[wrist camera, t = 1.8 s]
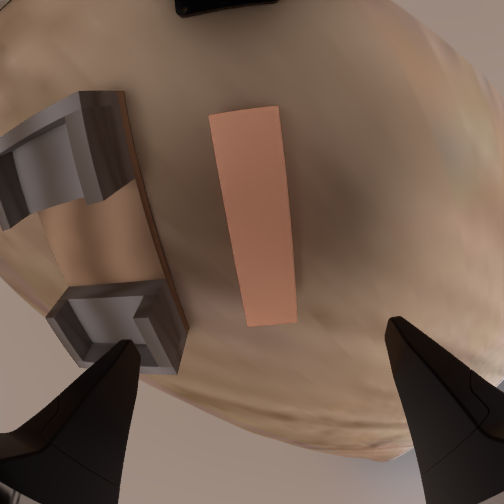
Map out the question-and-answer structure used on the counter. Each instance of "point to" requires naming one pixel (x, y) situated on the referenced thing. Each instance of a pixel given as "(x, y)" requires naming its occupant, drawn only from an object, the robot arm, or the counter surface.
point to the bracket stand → (94, 229)
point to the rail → (257, 211)
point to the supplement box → (3, 3)
